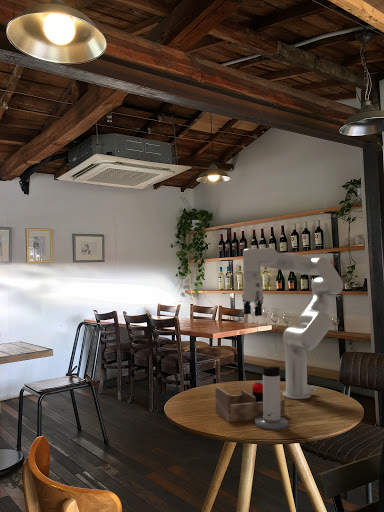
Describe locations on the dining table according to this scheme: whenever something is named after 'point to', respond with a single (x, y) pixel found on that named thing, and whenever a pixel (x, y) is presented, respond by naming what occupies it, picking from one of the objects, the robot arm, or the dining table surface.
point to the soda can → (258, 390)
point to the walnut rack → (240, 406)
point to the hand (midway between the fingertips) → (252, 314)
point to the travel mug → (271, 394)
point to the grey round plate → (271, 424)
